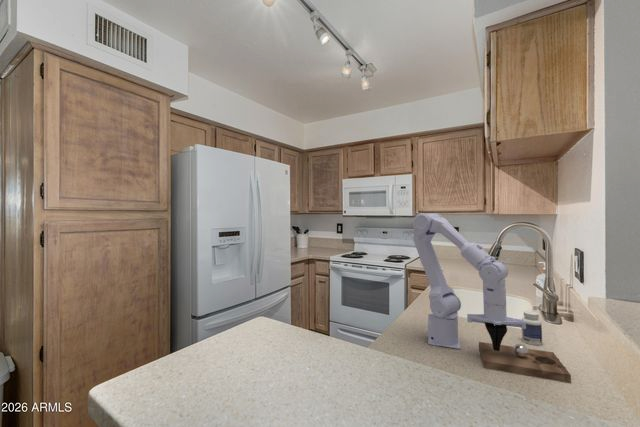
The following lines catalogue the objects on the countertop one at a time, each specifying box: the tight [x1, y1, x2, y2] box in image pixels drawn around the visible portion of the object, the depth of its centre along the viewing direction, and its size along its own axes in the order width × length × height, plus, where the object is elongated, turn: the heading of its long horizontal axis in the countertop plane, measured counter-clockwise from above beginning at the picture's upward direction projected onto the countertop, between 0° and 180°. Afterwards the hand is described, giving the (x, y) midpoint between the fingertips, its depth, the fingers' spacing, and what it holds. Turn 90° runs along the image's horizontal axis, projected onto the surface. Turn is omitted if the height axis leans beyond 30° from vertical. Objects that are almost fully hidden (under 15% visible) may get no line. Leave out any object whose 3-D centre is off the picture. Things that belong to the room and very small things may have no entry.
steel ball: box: [513, 343, 529, 357], centre depth 80 cm, size 4×4×4 cm
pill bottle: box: [521, 310, 543, 346], centre depth 94 cm, size 5×5×10 cm
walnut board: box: [478, 341, 572, 384], centre depth 80 cm, size 19×13×2 cm
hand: (496, 349), depth 83 cm, fingers closed
